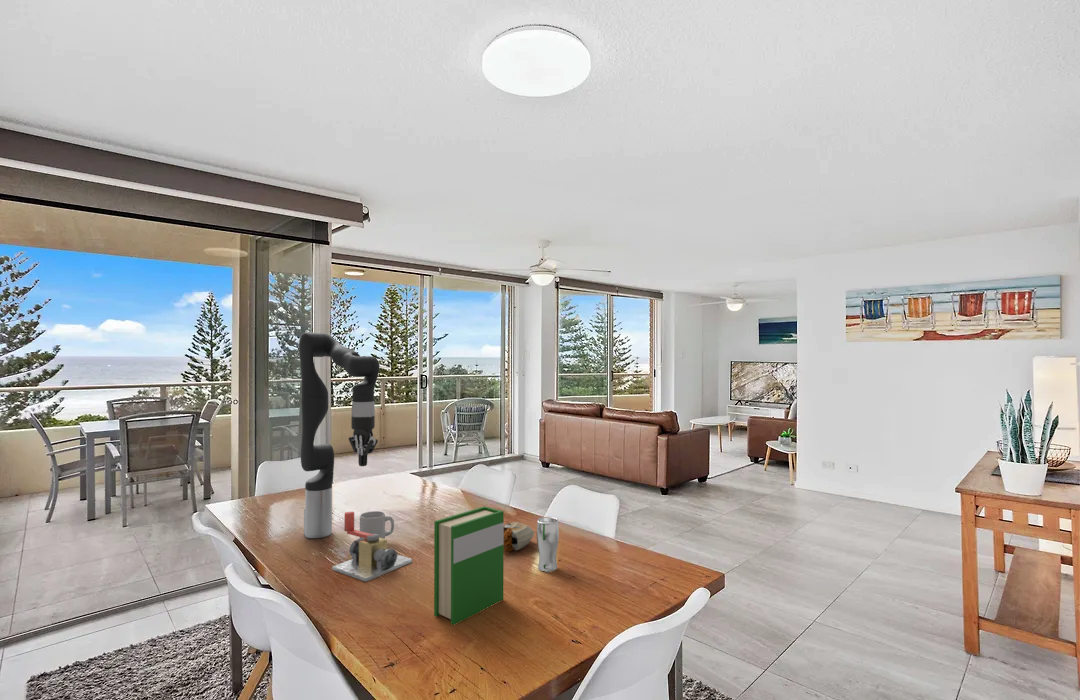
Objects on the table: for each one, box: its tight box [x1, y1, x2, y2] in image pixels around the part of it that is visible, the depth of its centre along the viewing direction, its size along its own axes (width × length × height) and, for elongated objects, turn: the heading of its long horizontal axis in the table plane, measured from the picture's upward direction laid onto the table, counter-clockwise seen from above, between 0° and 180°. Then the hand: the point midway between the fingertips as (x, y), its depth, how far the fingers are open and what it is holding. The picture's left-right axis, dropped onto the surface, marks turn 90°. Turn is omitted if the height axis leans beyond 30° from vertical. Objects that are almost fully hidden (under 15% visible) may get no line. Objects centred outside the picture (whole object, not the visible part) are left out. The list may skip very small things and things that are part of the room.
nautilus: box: [504, 521, 535, 556], centre depth 181 cm, size 8×22×15 cm
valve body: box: [331, 537, 413, 583], centre depth 165 cm, size 16×18×8 cm
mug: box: [359, 510, 395, 540], centre depth 184 cm, size 12×8×11 cm
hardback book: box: [433, 505, 505, 626], centre depth 138 cm, size 18×7×24 cm, turn 140°
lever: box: [343, 511, 379, 541], centre depth 168 cm, size 14×4×7 cm, turn 60°
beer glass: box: [536, 516, 560, 573], centre depth 163 cm, size 7×7×15 cm
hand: (362, 465), depth 178 cm, fingers closed
